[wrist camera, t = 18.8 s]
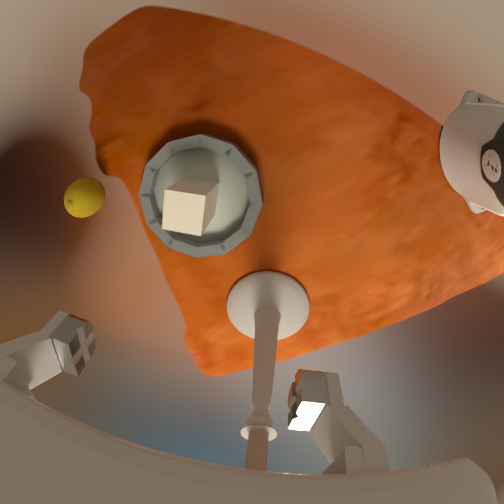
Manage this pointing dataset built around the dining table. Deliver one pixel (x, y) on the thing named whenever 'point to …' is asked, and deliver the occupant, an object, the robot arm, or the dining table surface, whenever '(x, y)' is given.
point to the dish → (228, 200)
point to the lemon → (84, 197)
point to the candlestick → (265, 344)
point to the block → (190, 205)
